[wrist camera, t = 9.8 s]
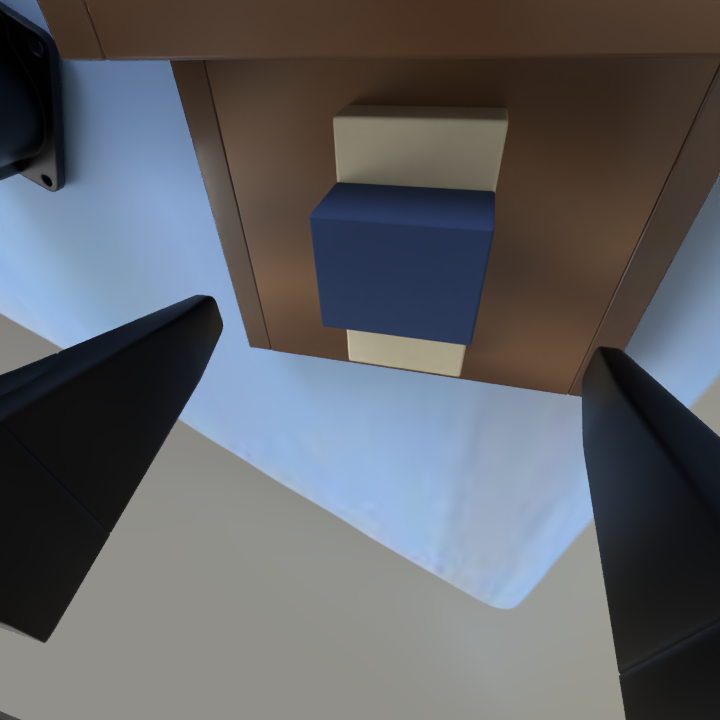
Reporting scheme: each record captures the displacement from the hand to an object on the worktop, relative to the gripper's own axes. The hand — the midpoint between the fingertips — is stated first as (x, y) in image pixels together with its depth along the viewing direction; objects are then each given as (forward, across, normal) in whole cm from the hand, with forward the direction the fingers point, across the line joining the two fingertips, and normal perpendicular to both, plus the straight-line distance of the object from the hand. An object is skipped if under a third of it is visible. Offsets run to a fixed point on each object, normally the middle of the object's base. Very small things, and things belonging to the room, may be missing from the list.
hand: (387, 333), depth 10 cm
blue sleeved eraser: (+6, 0, +1) cm, 6 cm away
